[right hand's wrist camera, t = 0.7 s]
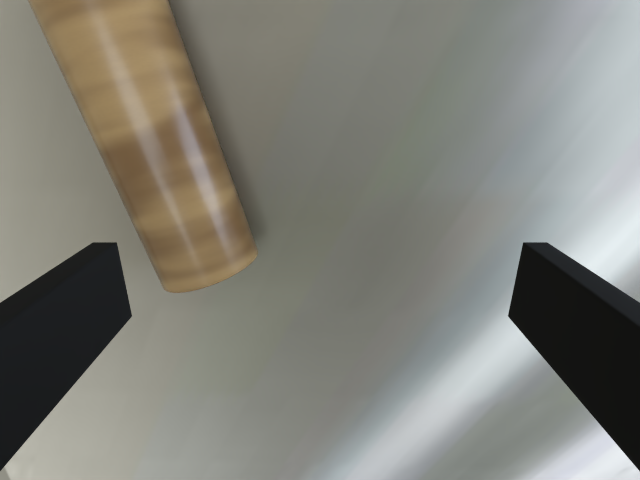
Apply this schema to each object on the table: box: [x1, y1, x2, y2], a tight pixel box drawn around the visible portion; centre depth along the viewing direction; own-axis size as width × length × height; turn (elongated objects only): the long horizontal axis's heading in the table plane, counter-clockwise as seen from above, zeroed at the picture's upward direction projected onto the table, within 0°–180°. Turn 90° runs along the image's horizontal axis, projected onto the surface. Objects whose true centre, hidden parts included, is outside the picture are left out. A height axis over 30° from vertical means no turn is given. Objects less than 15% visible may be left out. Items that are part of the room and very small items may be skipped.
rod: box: [28, 0, 258, 293], centre depth 27 cm, size 23×8×8 cm, turn 15°
